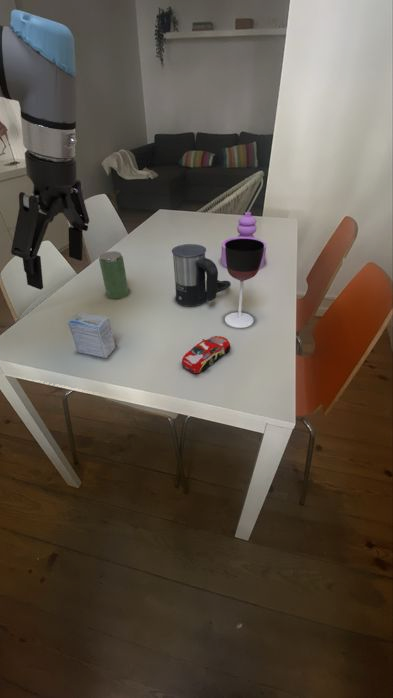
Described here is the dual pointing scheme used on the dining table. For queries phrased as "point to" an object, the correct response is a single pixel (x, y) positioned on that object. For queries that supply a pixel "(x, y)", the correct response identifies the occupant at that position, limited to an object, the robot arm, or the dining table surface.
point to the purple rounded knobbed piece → (244, 235)
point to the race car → (205, 354)
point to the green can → (114, 274)
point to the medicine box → (92, 334)
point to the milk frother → (195, 275)
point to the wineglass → (242, 272)
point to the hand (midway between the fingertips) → (57, 271)
